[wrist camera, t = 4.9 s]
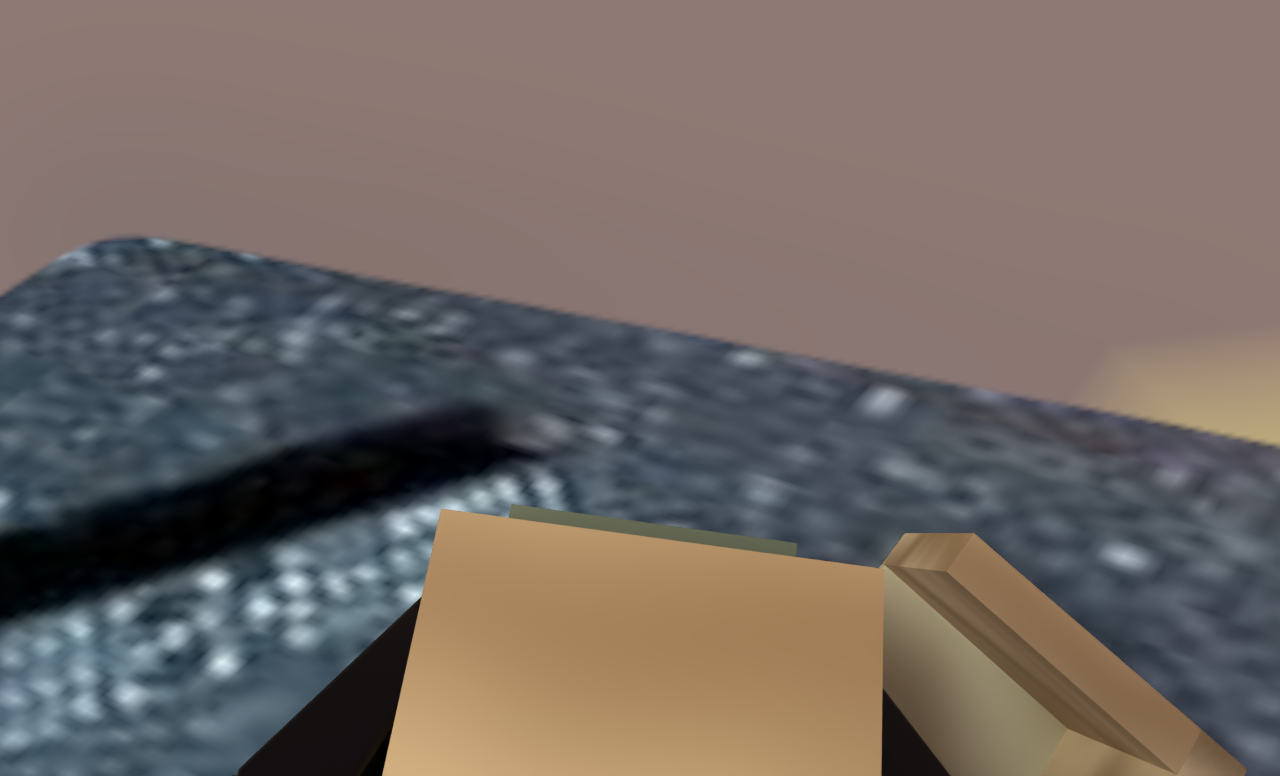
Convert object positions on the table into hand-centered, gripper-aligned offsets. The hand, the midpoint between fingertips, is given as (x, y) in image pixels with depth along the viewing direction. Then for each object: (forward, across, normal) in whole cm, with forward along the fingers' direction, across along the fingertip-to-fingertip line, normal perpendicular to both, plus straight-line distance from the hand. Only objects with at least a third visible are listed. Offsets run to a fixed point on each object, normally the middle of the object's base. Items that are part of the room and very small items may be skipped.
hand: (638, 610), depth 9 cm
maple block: (+4, 0, +6) cm, 7 cm away
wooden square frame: (+5, -12, +11) cm, 17 cm away
